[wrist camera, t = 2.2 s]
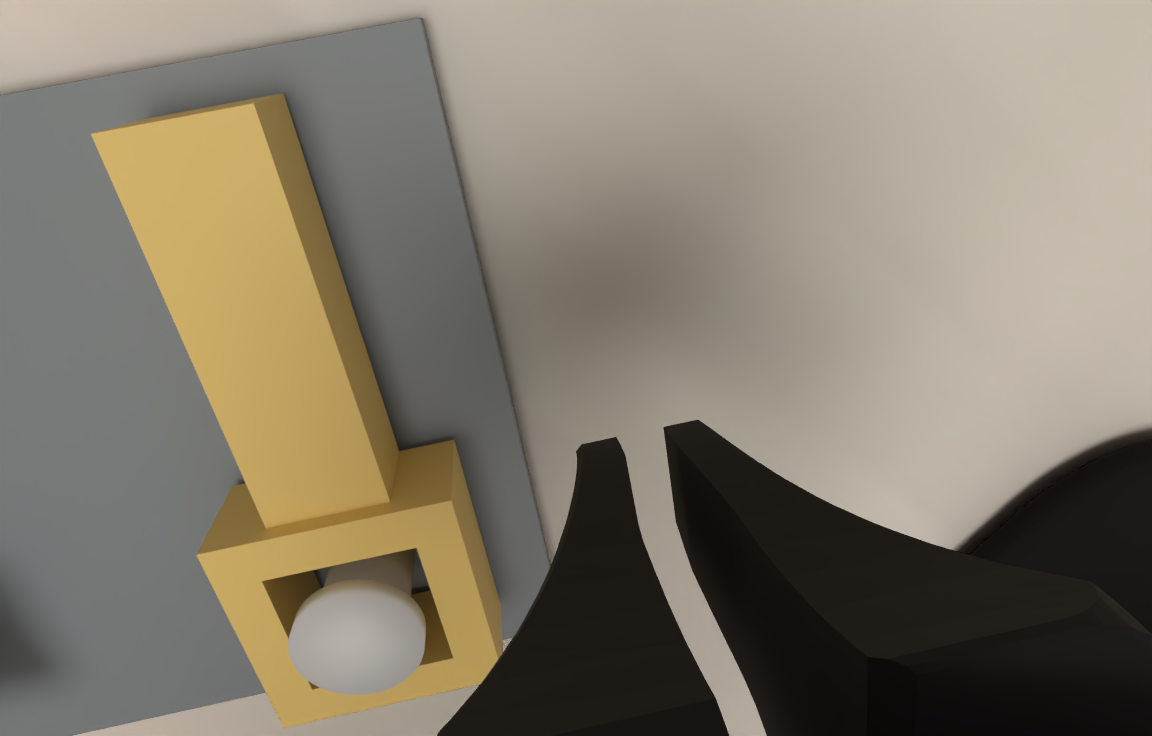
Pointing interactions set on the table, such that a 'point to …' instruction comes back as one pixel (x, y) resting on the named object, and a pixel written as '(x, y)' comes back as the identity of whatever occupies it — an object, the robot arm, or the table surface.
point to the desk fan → (1090, 530)
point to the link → (295, 401)
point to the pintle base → (182, 409)
